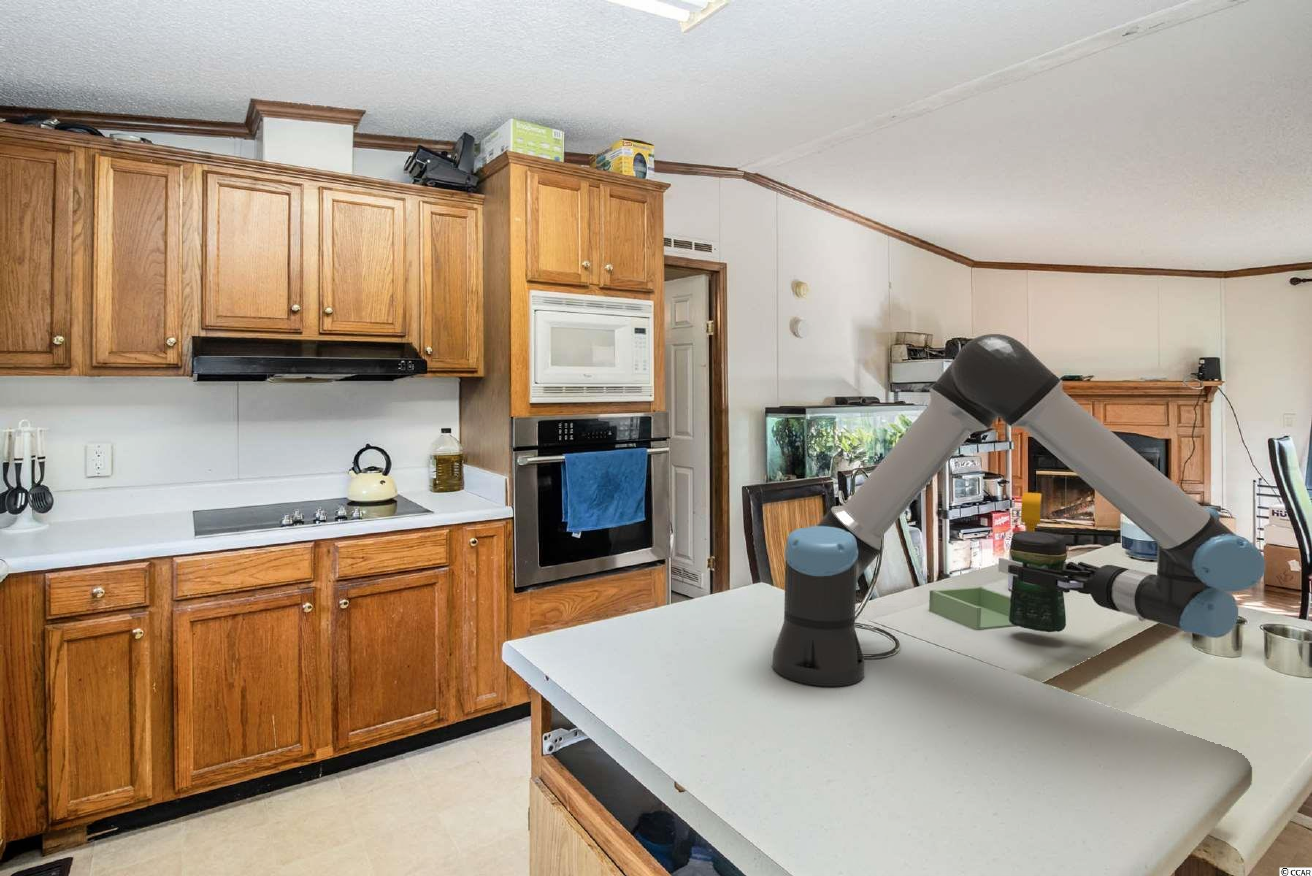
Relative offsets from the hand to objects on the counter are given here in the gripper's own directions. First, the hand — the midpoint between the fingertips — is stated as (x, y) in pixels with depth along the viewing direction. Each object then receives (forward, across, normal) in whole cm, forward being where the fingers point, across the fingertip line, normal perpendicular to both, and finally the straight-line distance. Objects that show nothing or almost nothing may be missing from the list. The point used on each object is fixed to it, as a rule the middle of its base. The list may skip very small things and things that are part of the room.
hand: (1018, 563), depth 138 cm
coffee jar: (-5, 0, -12) cm, 13 cm away
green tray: (+10, 0, -14) cm, 17 cm away
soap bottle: (+25, +29, -14) cm, 40 cm away
